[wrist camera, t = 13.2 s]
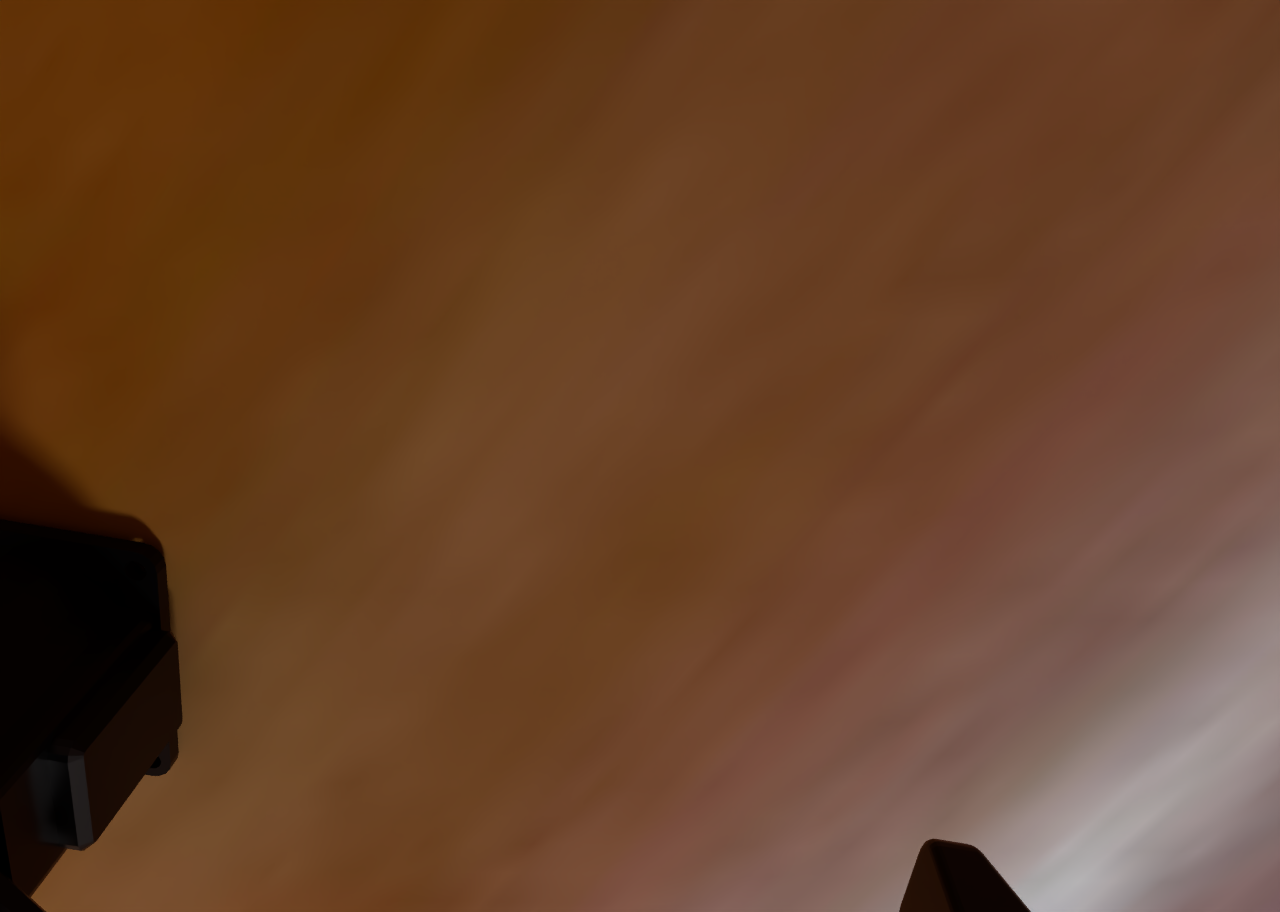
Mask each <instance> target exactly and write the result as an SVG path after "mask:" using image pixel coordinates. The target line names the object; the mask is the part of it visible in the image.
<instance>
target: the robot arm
mask: <svg viewBox="0 0 1280 912" xmlns="http://www.w3.org/2000/svg"><path fill="white" fill-rule="evenodd" d="M134 561H136V562H138V563H140V564H141V565H142V566H144V567H145V570H146V571H143V570H140V569H139V568H138V567H137V566H135V564H134ZM181 724H182V705H181V690H180V674H179V659H178V643H177V641H176V639H175V637H174V635H173V634H172V632H170V618H169V603H168V588H167V574H166V564H165V560H164V557H163V556H162V555H161V553H160V552H159V551H158V550H157V549H155V548H154V547H153V546H151V545H148V544H145V543H141V542H135V541H129V540H123V539H117V538H111V537H104V536H98V535H92V534H86V533H80V532H74V531H68V530H61V529H55V528H49V527H43V526H37V525H31V524H25V523H18V522H12V521H6V520H0V912H46V911H45V910H44V909H42V908H41V907H40V906H39V905H38V904H37V903H36V902H35V901H34V900H33V899H31V898H30V897H31V896H32V895H33V893H34V892H35V891H36V890H37V888H38V887H39V886H40V884H41V883H42V882H43V880H44V879H45V878H46V876H47V875H48V874H49V872H50V871H51V870H52V868H53V867H54V866H55V864H56V863H57V862H58V860H59V859H60V858H61V856H62V855H63V854H64V852H65V851H66V850H67V848H68V849H74V850H80V851H82V850H85V849H86V848H88V847H89V846H91V845H92V844H93V843H95V842H96V841H97V840H98V838H99V837H100V835H101V834H102V833H103V831H104V830H105V829H106V827H107V826H108V824H109V823H110V822H111V820H112V819H113V818H114V816H115V815H116V813H117V812H118V811H119V809H120V808H121V807H122V805H123V804H124V802H125V801H126V800H127V798H128V797H129V796H130V794H131V793H132V791H133V790H134V789H135V787H136V786H137V785H138V783H139V782H140V780H141V779H142V778H143V776H144V775H151V776H160V775H163V774H166V773H167V772H168V771H169V769H170V768H171V767H172V765H173V764H174V762H175V761H176V760H177V758H178V753H179V751H178V736H177V730H178V728H179V727H180V725H181ZM899 912H1031V911H1030V910H1029V909H1028V908H1027V906H1026V905H1025V904H1024V903H1023V902H1022V900H1021V899H1020V898H1019V897H1018V896H1017V894H1016V893H1015V892H1014V891H1013V890H1012V888H1011V887H1010V886H1009V885H1008V883H1007V882H1006V881H1005V880H1004V879H1003V877H1002V876H1001V875H1000V874H999V873H998V871H997V870H996V869H995V868H994V866H993V865H992V864H991V863H990V862H989V860H988V859H987V858H986V857H985V856H984V854H983V853H982V852H981V851H980V850H978V849H977V848H976V847H974V846H972V845H969V844H964V843H958V842H952V841H946V840H940V839H930V840H928V841H926V842H925V843H924V845H923V846H922V847H921V849H920V852H919V854H918V857H917V860H916V863H915V866H914V869H913V872H912V874H911V877H910V880H909V883H908V886H907V889H906V892H905V895H904V897H903V900H902V903H901V907H900V911H899Z"/></svg>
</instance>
